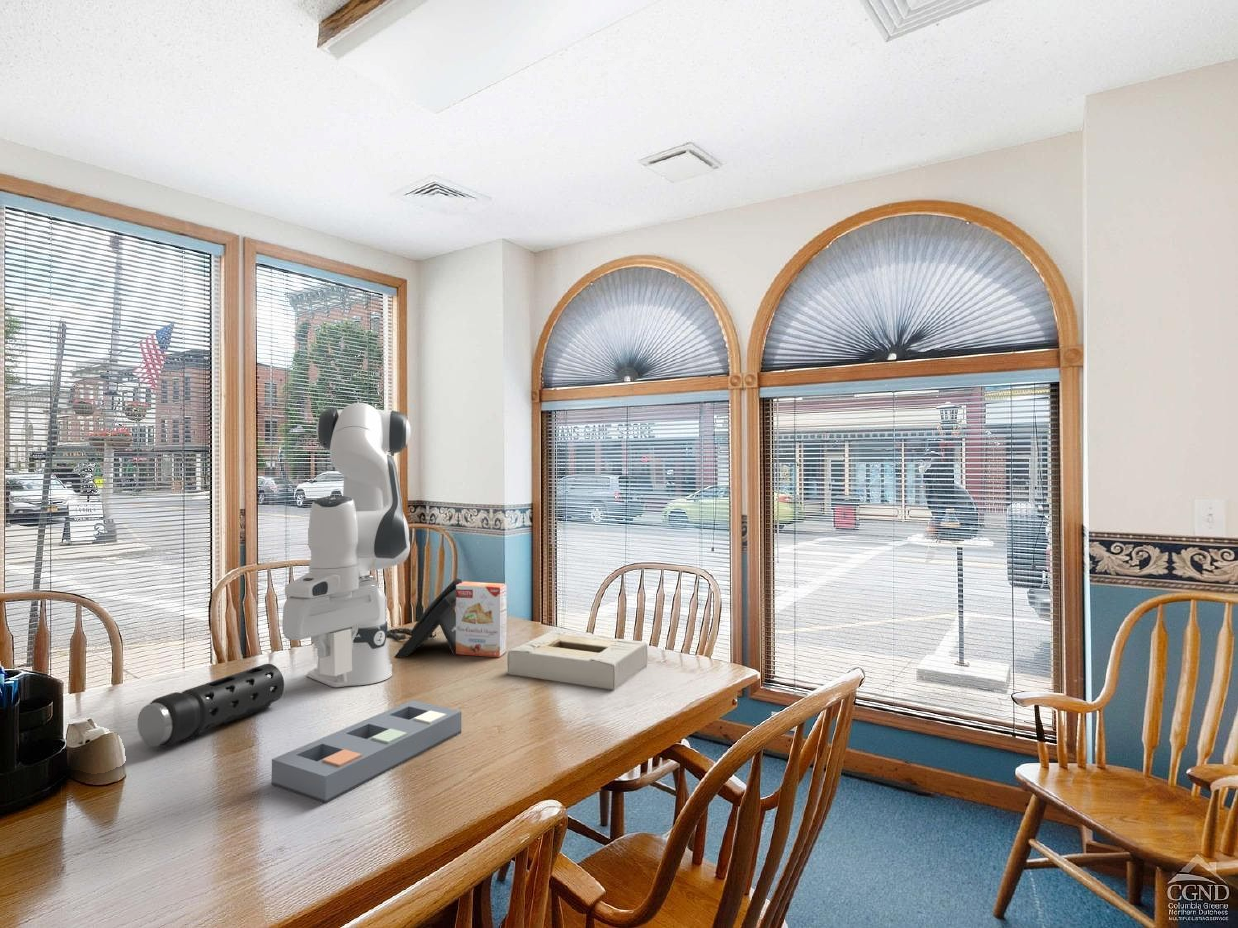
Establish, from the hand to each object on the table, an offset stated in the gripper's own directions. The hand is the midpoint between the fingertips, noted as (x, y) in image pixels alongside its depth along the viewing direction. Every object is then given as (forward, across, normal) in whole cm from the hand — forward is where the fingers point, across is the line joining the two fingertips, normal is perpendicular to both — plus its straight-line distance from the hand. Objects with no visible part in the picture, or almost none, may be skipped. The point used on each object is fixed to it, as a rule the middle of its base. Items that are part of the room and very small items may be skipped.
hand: (335, 653), depth 132 cm
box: (+21, -71, +11) cm, 75 cm away
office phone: (+19, -70, -45) cm, 85 cm away
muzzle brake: (+20, +1, -36) cm, 41 cm away
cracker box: (+20, -70, -22) cm, 76 cm away
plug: (+4, 0, 0) cm, 4 cm away
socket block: (+21, -5, +5) cm, 22 cm away
